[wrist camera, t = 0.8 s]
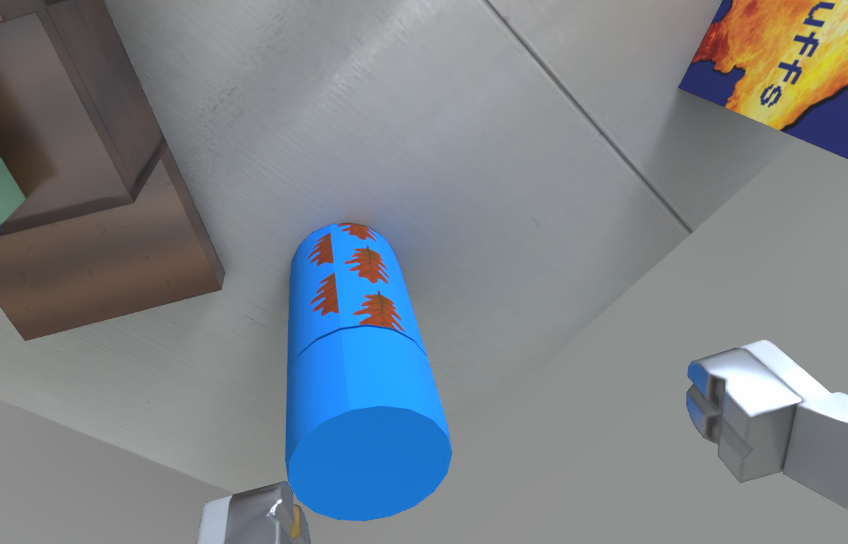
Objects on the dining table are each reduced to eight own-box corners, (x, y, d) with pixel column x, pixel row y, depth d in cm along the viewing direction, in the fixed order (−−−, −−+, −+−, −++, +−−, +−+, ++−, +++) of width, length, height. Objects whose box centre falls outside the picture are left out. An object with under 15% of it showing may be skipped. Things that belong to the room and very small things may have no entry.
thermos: (369, 327, 62) (406, 533, 41) (272, 296, 58) (258, 508, 37) (416, 244, 58) (484, 426, 37) (316, 204, 54) (328, 383, 33)
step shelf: (-163, 34, 41) (-393, 87, 27) (92, -24, 42) (-7, 0, 28) (37, 322, 54) (-49, 451, 41) (225, 273, 56) (202, 384, 42)
